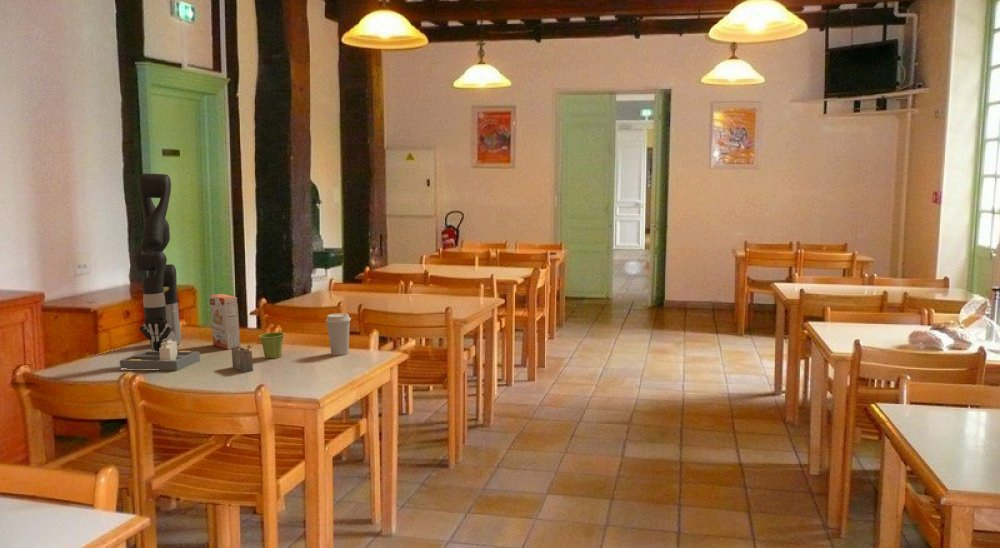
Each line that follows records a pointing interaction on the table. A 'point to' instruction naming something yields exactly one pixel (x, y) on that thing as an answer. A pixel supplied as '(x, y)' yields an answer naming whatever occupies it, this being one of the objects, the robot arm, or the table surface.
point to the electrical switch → (170, 336)
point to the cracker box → (225, 321)
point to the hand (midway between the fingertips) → (158, 350)
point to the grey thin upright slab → (242, 359)
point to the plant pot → (272, 344)
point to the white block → (173, 343)
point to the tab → (168, 352)
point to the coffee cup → (338, 333)
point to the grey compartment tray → (153, 360)
